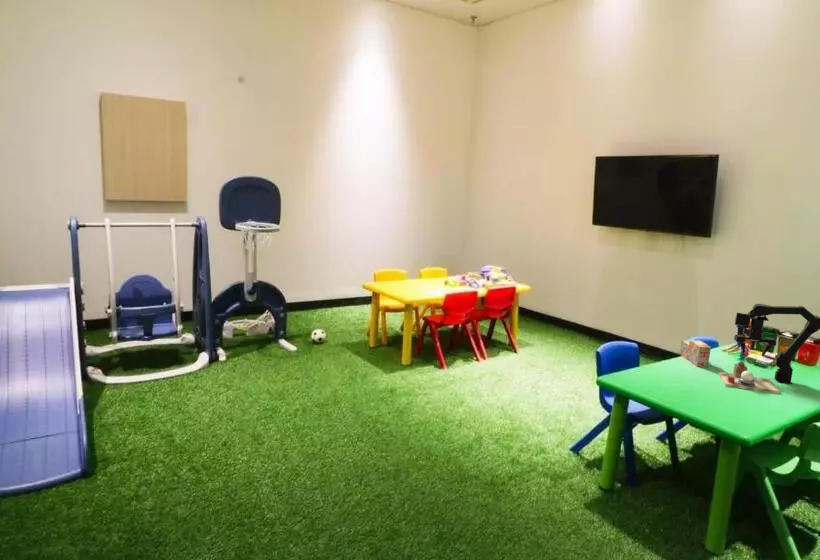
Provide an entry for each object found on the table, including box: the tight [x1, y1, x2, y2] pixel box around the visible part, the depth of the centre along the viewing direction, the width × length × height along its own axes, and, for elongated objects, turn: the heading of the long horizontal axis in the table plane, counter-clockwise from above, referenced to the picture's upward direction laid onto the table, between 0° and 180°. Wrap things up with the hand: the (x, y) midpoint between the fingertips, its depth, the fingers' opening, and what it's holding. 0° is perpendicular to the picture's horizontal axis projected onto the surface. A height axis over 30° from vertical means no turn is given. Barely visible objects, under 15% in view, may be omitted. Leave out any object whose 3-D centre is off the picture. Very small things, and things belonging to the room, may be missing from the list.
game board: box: [718, 371, 781, 395], centre depth 282 cm, size 24×18×4 cm
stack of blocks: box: [679, 339, 712, 368], centre depth 316 cm, size 21×6×12 cm, turn 179°
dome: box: [739, 370, 755, 384], centre depth 277 cm, size 7×7×6 cm
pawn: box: [732, 360, 748, 378], centre depth 288 cm, size 5×5×8 cm
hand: (752, 355), depth 293 cm, fingers open, 9 cm apart
